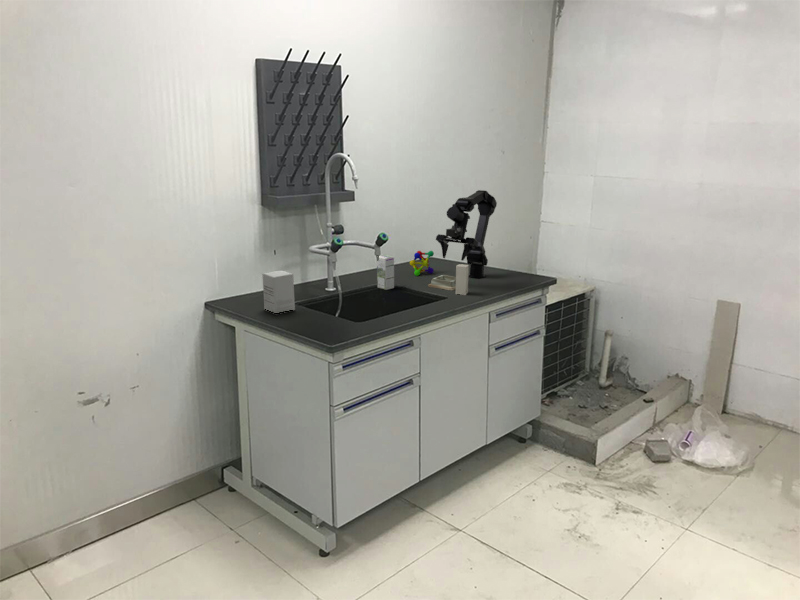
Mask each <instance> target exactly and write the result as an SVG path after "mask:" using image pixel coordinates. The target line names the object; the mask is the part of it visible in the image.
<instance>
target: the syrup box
mask: <svg viewBox="0 0 800 600" xmlns="http://www.w3.org/2000/svg"><path fill="white" fill-rule="evenodd" d="M376 283H377V284H376V286H377V287H376V288H378V289H381V290H385V291H386V290H387V291H388V290H391V289H394V288H395V257H394V256H393V255H391V256H390V255H387V254H384V255H379V260H378V261H377V260H376Z"/></svg>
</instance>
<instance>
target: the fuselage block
mask: <svg viewBox="0 0 800 600" xmlns="http://www.w3.org/2000/svg"><path fill="white" fill-rule="evenodd" d="M469 267H470V264H462V263H461V264H456V266H455V268H456V269H455V277H456V289H455V290H454V291H455V292H454V293H455V295H457V294H460V295H459V296H467V294H468V293H469V277H468V275H469V274H470V268H469Z"/></svg>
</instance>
